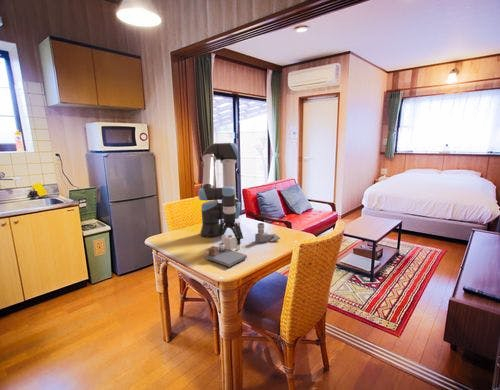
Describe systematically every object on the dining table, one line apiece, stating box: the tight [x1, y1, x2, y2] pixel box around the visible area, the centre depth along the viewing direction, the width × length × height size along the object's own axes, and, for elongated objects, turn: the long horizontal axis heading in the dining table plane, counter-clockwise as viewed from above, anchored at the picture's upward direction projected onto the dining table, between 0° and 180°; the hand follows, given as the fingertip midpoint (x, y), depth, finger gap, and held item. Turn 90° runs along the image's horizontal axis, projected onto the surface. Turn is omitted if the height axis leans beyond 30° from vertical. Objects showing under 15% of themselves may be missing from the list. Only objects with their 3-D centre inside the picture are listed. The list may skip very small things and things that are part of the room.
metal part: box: [218, 242, 225, 252], centre depth 156 cm, size 4×4×4 cm
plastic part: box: [224, 234, 236, 251], centre depth 167 cm, size 5×5×8 cm
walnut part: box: [207, 245, 219, 257], centre depth 151 cm, size 4×4×4 cm
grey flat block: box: [204, 248, 248, 269], centre depth 151 cm, size 18×14×2 cm
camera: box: [254, 222, 281, 244], centre depth 177 cm, size 9×12×15 cm
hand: (230, 247), depth 168 cm, fingers open, 11 cm apart
